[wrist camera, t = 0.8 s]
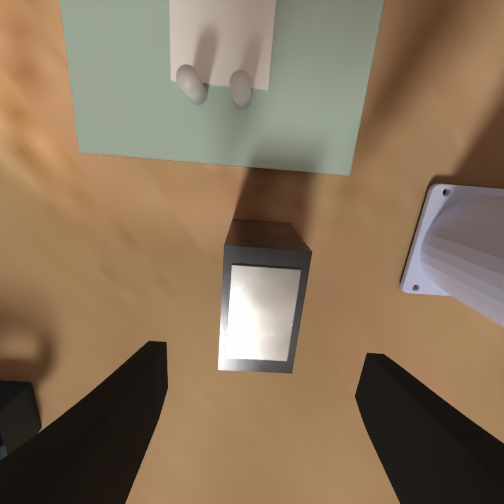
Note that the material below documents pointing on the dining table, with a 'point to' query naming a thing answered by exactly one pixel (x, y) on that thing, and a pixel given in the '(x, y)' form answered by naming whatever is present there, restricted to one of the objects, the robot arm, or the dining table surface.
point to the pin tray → (222, 79)
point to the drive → (262, 296)
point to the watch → (17, 416)
